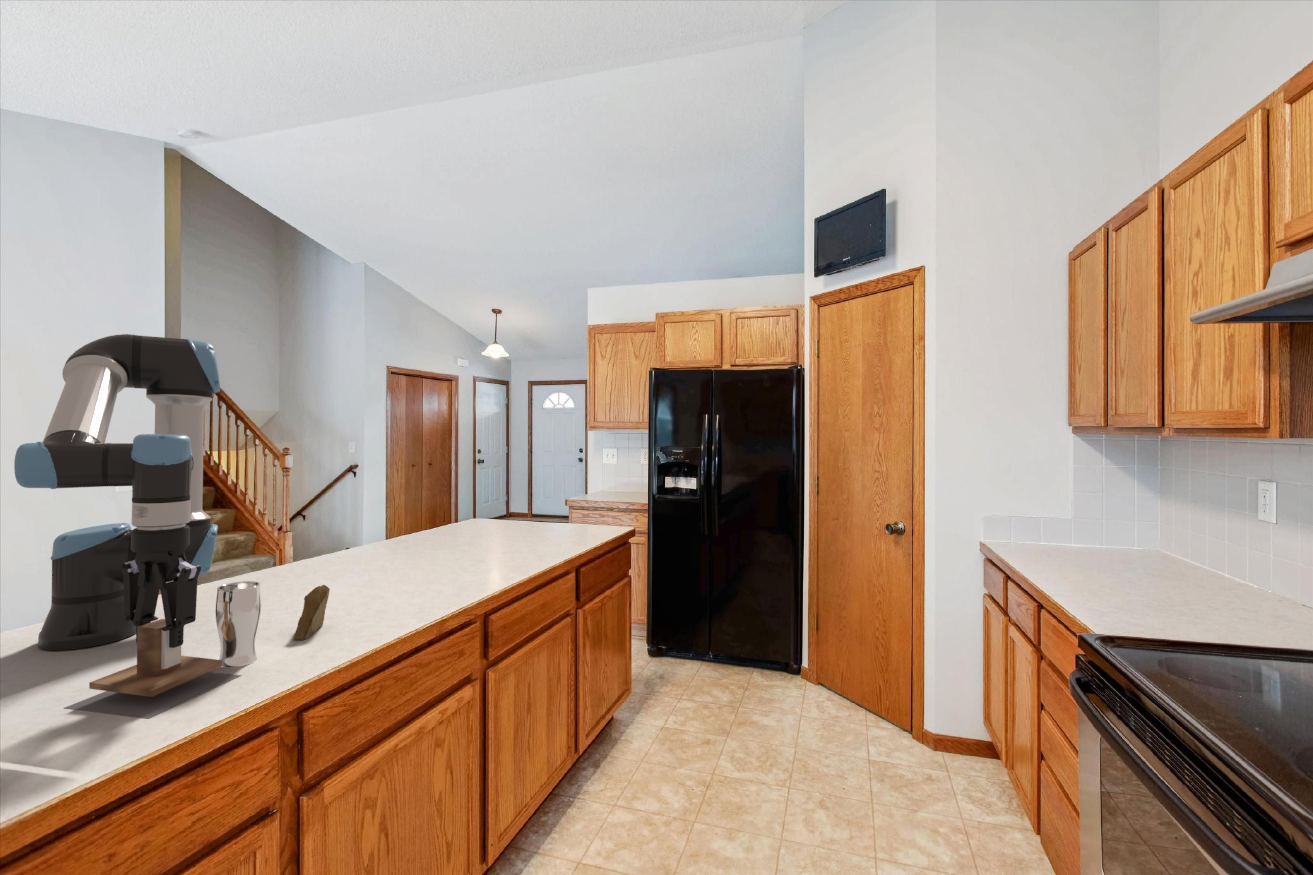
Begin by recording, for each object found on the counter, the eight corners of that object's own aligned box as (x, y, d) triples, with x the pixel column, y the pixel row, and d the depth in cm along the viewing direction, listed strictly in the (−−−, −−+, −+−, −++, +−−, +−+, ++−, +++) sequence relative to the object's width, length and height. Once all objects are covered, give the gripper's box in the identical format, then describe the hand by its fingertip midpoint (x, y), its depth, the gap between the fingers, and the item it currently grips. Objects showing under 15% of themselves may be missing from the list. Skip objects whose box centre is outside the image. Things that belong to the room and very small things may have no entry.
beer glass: (253, 654, 114) (254, 578, 114) (265, 663, 109) (266, 585, 109) (209, 664, 108) (211, 585, 108) (220, 675, 104) (221, 592, 104)
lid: (89, 688, 92) (90, 632, 92) (165, 659, 104) (165, 609, 104) (152, 696, 90) (152, 639, 90) (222, 665, 102) (223, 615, 102)
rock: (310, 633, 120) (347, 612, 130) (287, 599, 120) (326, 581, 130) (281, 657, 123) (319, 635, 133) (258, 624, 124) (298, 605, 133)
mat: (63, 711, 90) (63, 707, 90) (166, 670, 106) (166, 667, 106) (148, 721, 87) (148, 718, 87) (241, 678, 103) (241, 675, 103)
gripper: (94, 526, 94) (92, 668, 94) (182, 533, 91) (180, 679, 92) (142, 519, 101) (140, 650, 102) (225, 525, 99) (223, 660, 99)
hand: (159, 663), depth 97 cm, fingers closed on lid, 4 cm apart
